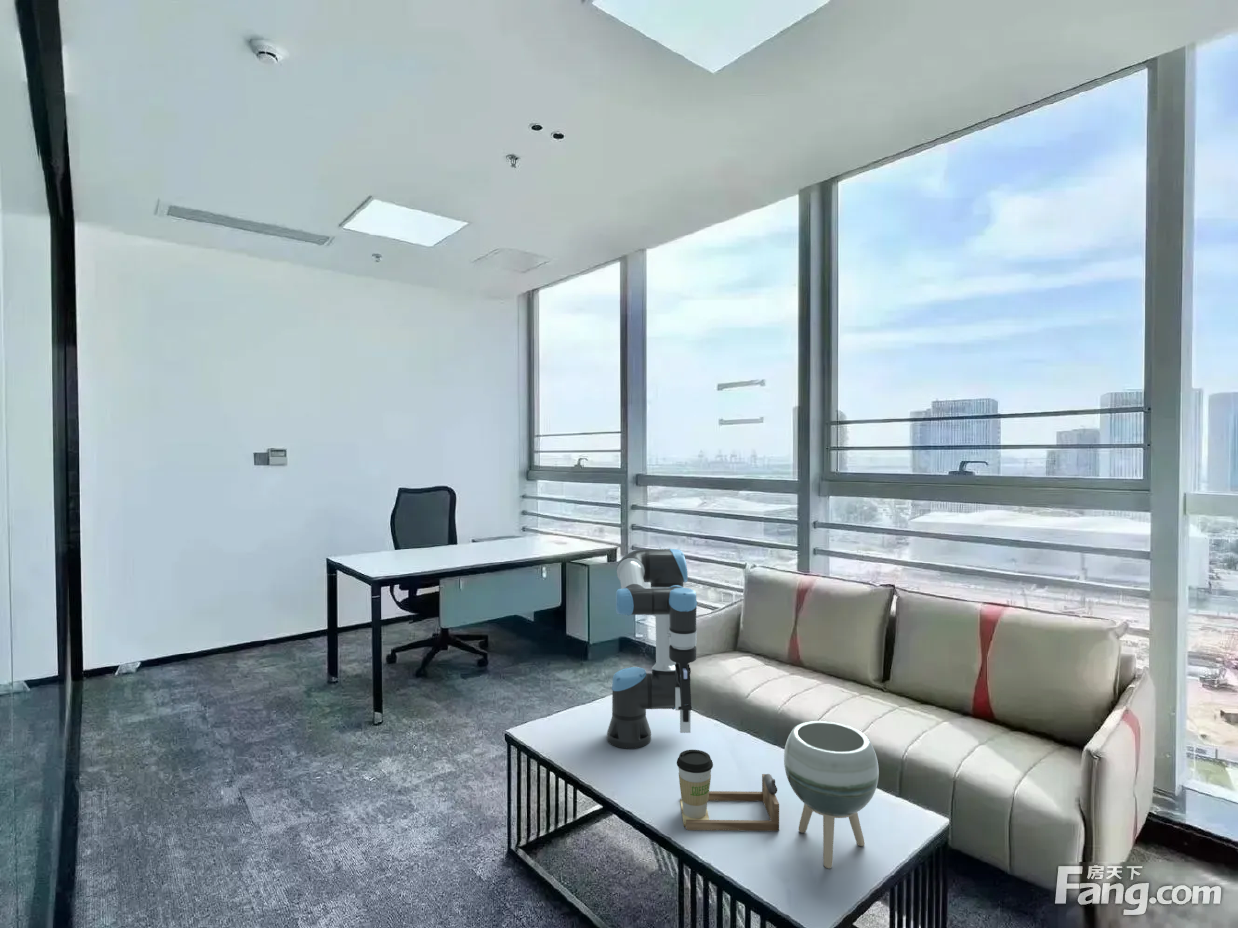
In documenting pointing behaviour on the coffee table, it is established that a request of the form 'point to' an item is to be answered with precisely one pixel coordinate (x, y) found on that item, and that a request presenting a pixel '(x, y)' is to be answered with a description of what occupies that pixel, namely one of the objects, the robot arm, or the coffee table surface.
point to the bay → (740, 825)
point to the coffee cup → (694, 781)
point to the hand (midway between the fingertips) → (682, 720)
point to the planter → (831, 775)
